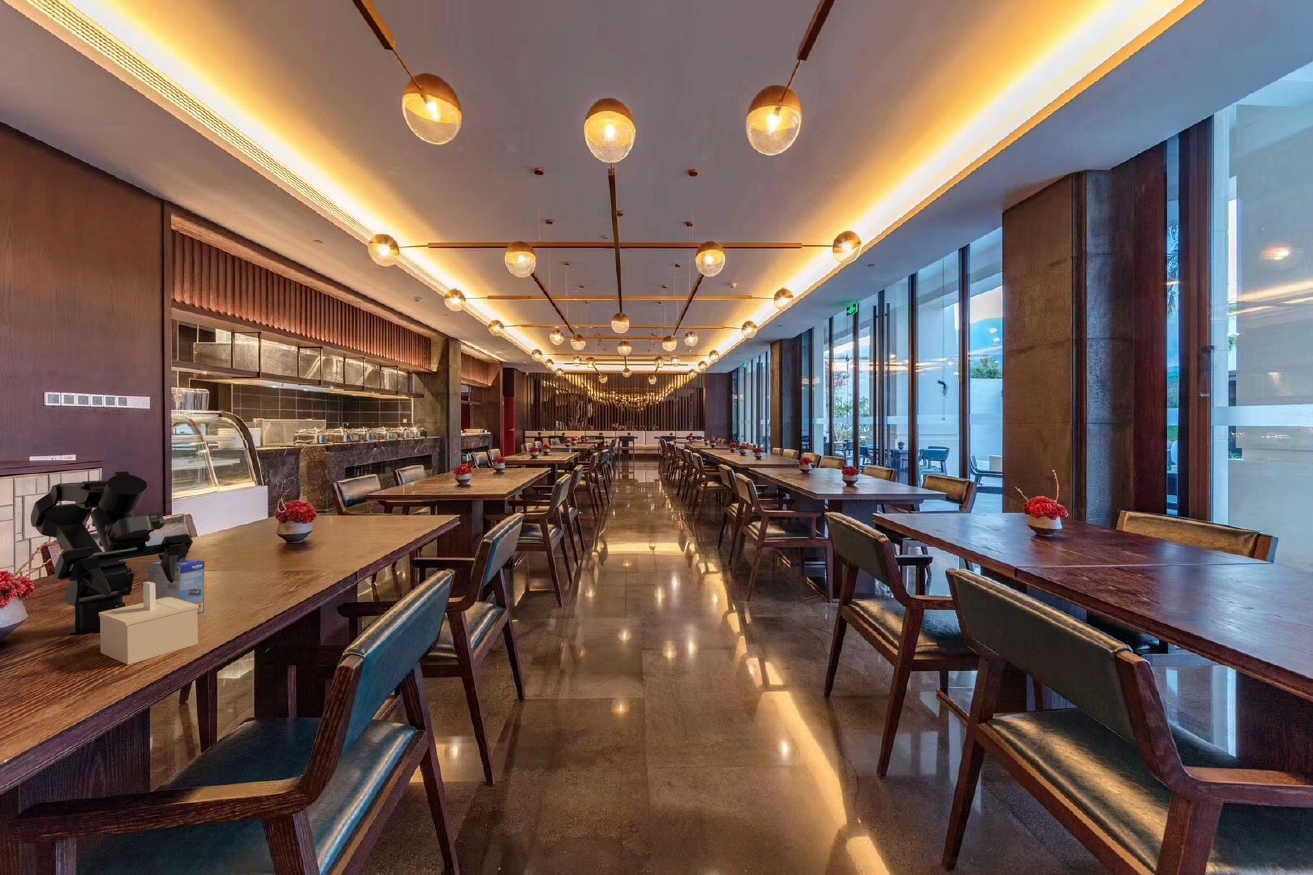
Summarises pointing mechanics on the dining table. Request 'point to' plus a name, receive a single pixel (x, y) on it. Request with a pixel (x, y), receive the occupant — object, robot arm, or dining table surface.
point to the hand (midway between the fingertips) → (142, 587)
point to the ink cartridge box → (180, 581)
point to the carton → (148, 636)
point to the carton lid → (148, 608)
